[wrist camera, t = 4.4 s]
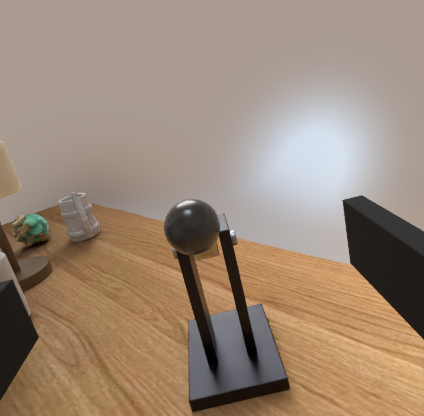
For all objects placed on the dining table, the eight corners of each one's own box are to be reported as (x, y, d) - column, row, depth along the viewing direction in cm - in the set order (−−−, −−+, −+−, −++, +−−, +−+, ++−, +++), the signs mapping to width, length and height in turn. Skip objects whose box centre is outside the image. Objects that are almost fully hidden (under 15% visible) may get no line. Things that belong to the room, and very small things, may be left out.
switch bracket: (289, 389, 33) (259, 241, 28) (192, 412, 33) (146, 268, 28) (263, 312, 44) (238, 197, 39) (190, 329, 44) (158, 217, 40)
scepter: (-6, 225, 107) (7, 234, 82) (16, 203, 110) (35, 206, 86) (18, 243, 111) (37, 257, 86) (39, 222, 114) (63, 230, 89)
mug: (97, 226, 93) (81, 181, 89) (109, 236, 83) (92, 187, 79) (67, 237, 90) (49, 192, 86) (76, 250, 80) (57, 199, 76)
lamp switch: (225, 244, 21) (211, 187, 22) (165, 258, 21) (154, 200, 22) (228, 259, 35) (219, 223, 36) (191, 268, 35) (184, 232, 36)
